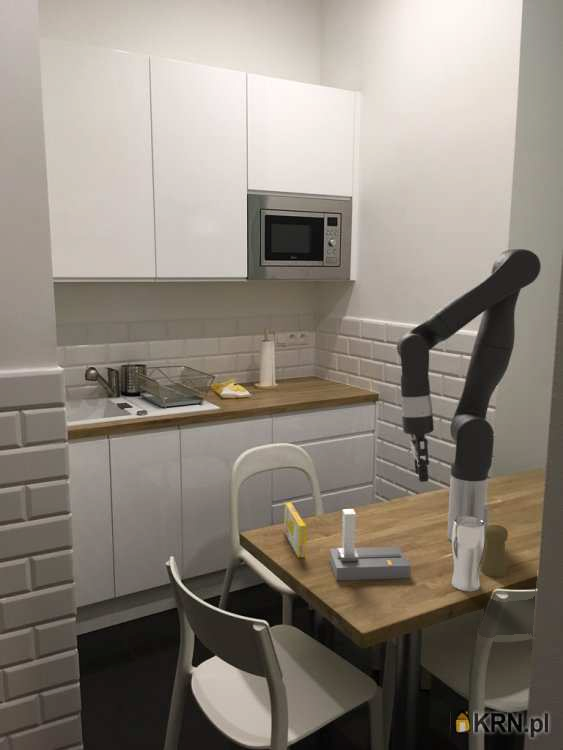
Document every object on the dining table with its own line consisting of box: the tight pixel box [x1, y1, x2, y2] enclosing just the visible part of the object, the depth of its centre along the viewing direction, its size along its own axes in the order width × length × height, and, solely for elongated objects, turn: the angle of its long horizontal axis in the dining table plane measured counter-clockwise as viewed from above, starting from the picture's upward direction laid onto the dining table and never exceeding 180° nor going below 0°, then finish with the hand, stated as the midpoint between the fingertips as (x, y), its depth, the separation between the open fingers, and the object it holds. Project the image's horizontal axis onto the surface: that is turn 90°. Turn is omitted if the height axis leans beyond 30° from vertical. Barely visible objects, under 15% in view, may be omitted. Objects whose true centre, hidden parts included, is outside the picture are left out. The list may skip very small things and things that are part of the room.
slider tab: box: [337, 508, 359, 562], centre depth 148 cm, size 4×5×11 cm
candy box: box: [283, 502, 307, 559], centre depth 163 cm, size 16×2×8 cm, turn 12°
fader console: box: [328, 546, 412, 581], centre depth 150 cm, size 17×10×3 cm, turn 95°
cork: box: [479, 524, 509, 578], centre depth 148 cm, size 6×6×11 cm
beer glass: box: [451, 516, 486, 593], centre depth 141 cm, size 7×7×15 cm
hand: (421, 477), depth 161 cm, fingers open, 8 cm apart
